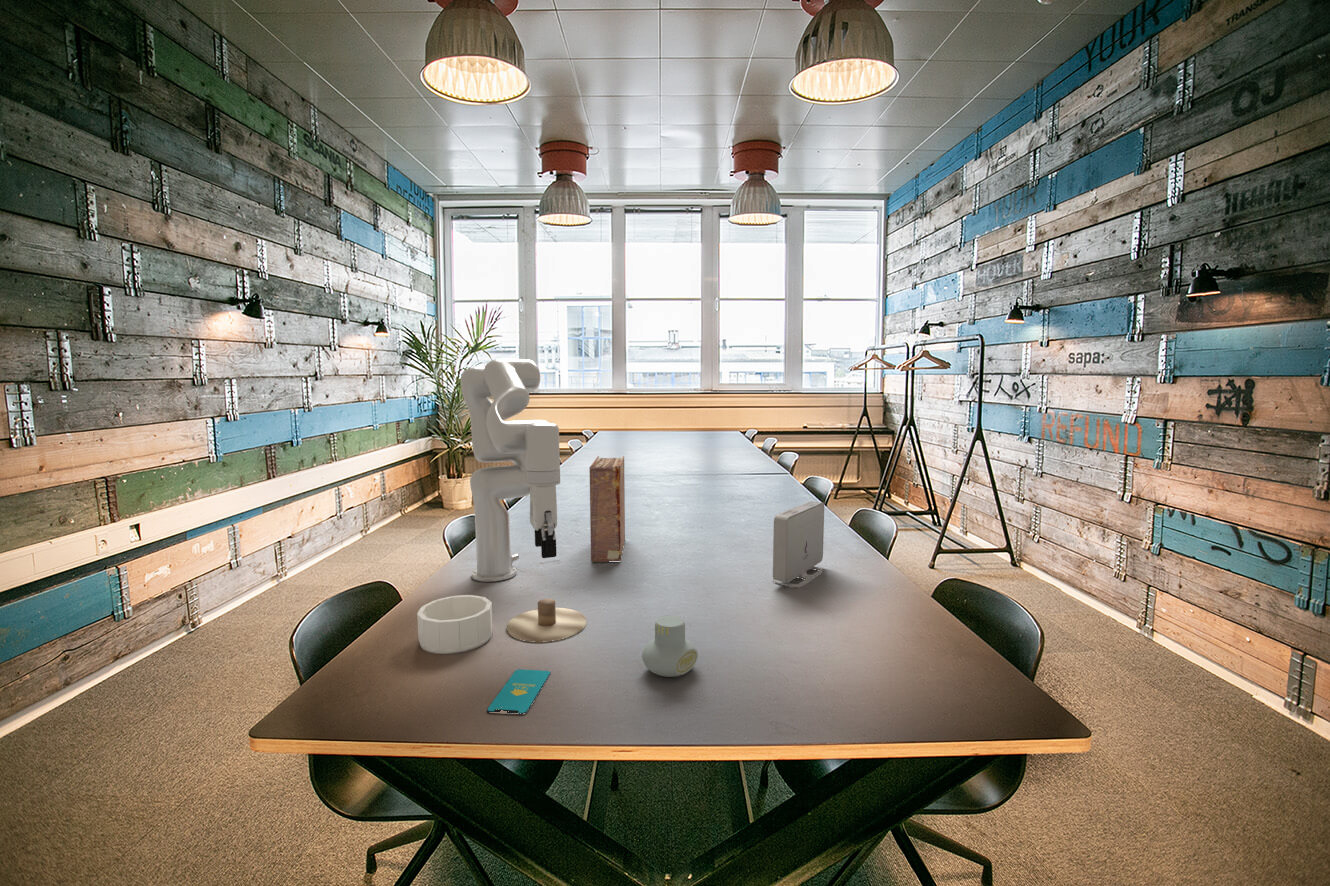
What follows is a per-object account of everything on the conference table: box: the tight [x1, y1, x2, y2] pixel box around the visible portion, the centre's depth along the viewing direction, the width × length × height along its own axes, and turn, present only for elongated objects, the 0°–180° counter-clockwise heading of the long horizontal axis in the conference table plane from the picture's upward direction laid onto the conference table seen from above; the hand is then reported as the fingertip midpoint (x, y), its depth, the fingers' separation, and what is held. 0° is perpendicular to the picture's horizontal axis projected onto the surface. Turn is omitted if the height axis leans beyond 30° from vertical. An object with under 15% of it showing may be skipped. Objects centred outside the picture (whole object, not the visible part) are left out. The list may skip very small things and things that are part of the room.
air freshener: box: [641, 615, 699, 678], centre depth 116 cm, size 11×8×10 cm
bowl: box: [416, 594, 494, 655], centre depth 131 cm, size 15×15×7 cm
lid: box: [506, 598, 587, 643], centre depth 138 cm, size 18×18×6 cm
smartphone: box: [486, 668, 551, 714], centre depth 109 cm, size 7×1×15 cm
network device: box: [772, 500, 825, 588], centre depth 170 cm, size 26×9×20 cm, turn 143°
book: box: [589, 455, 626, 563], centre depth 195 cm, size 25×9×30 cm, turn 1°
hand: (545, 551), depth 136 cm, fingers open, 9 cm apart
